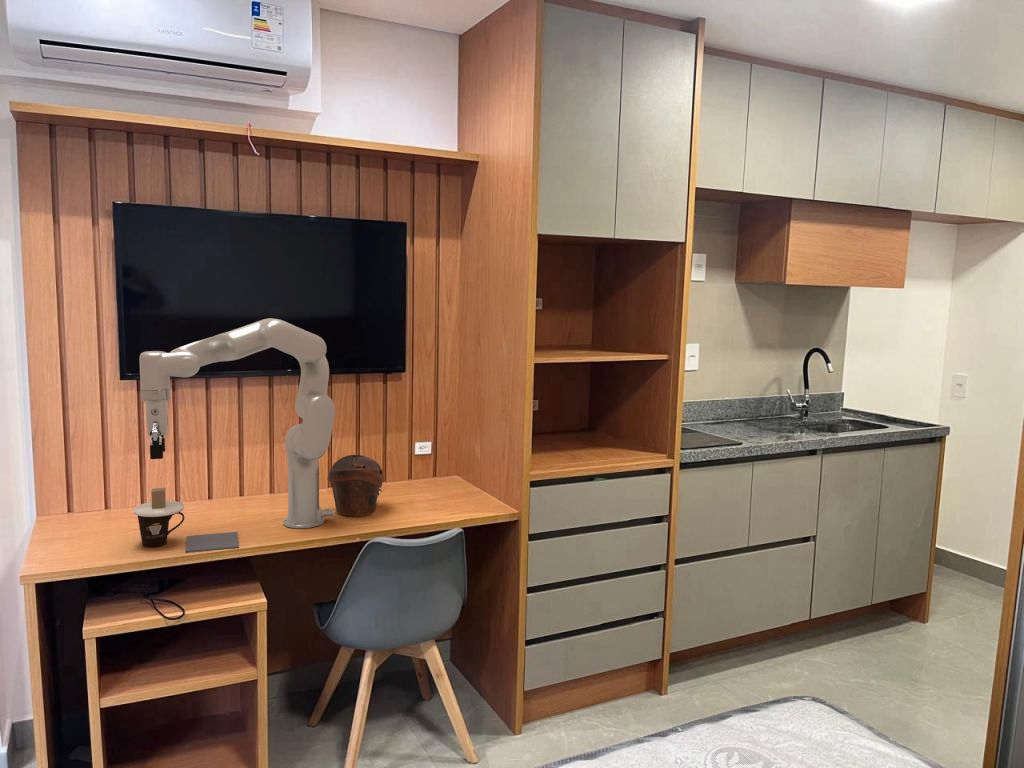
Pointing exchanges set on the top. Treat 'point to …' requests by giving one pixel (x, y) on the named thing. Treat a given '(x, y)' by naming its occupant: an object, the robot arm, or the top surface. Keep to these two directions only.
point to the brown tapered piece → (355, 485)
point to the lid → (158, 505)
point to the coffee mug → (155, 530)
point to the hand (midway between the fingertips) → (157, 455)
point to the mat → (212, 542)
